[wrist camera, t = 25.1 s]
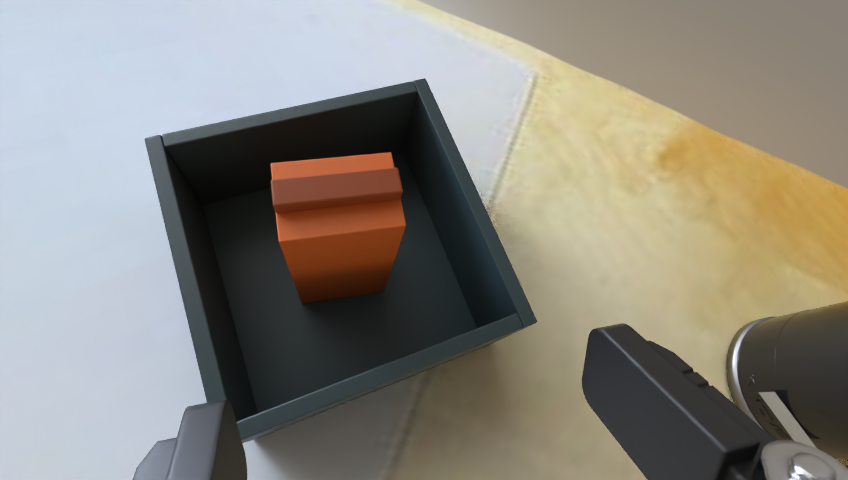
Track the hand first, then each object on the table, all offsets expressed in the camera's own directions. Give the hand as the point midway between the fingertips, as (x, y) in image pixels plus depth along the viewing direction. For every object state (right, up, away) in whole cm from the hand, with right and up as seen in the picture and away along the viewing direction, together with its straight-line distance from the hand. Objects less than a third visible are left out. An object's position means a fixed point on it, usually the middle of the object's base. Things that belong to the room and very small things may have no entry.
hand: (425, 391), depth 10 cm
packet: (-5, +1, +20) cm, 20 cm away
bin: (-6, +1, +20) cm, 21 cm away
